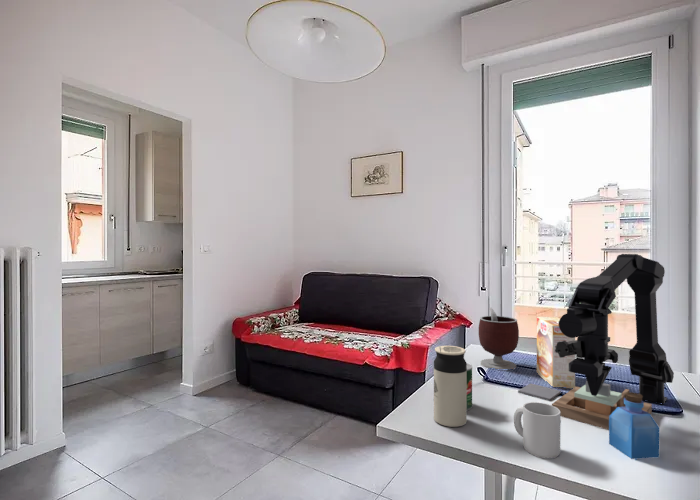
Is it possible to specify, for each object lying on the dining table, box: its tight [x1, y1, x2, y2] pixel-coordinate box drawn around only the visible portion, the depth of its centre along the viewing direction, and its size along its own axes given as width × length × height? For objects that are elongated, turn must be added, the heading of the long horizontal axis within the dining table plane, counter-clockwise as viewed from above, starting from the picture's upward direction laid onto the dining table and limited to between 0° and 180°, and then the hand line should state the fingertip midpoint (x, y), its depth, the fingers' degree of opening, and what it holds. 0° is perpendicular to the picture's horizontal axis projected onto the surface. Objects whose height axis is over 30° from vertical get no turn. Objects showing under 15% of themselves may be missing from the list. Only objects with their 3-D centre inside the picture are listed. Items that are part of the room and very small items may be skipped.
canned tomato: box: [467, 363, 473, 411], centre depth 109 cm, size 8×8×11 cm
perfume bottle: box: [608, 391, 660, 460], centre depth 85 cm, size 6×6×12 cm
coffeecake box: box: [536, 316, 576, 389], centre depth 129 cm, size 15×7×20 cm, turn 172°
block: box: [585, 399, 611, 416], centre depth 101 cm, size 4×4×5 cm
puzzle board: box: [551, 386, 653, 431], centre depth 103 cm, size 19×18×5 cm
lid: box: [574, 380, 622, 406], centre depth 101 cm, size 8×8×4 cm
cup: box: [513, 401, 561, 459], centre depth 86 cm, size 7×10×9 cm
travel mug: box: [433, 345, 468, 428], centre depth 99 cm, size 8×8×18 cm
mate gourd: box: [478, 307, 520, 370], centre depth 146 cm, size 16×14×20 cm
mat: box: [517, 383, 562, 402], centre depth 118 cm, size 9×9×1 cm
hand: (594, 395), depth 98 cm, fingers closed
